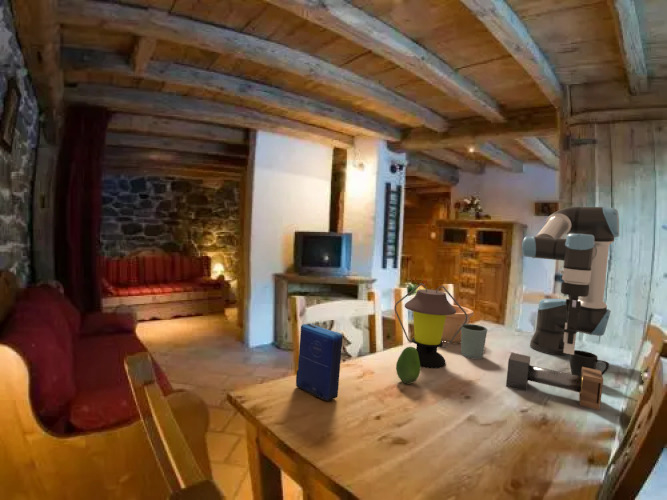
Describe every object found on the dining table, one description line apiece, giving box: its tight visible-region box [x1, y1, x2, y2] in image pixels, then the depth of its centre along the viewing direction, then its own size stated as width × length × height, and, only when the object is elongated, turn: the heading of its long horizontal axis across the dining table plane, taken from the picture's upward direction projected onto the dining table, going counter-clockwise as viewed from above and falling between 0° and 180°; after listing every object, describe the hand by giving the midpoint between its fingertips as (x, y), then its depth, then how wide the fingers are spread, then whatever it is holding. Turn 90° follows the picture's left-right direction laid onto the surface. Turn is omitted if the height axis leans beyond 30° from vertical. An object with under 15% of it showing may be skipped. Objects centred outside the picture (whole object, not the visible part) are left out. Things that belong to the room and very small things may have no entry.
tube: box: [527, 365, 583, 394], centre depth 125 cm, size 20×5×5 cm, turn 59°
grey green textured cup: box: [460, 323, 488, 360], centre depth 158 cm, size 10×10×12 cm
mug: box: [569, 349, 610, 376], centre depth 137 cm, size 8×12×10 cm
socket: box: [578, 367, 604, 411], centre depth 120 cm, size 9×5×10 cm, turn 149°
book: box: [295, 323, 343, 402], centre depth 113 cm, size 14×5×20 cm, turn 49°
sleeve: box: [505, 352, 531, 392], centre depth 130 cm, size 8×6×9 cm
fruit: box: [395, 346, 421, 384], centre depth 126 cm, size 8×8×12 cm
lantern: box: [393, 282, 467, 369], centre depth 147 cm, size 25×19×30 cm
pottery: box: [441, 304, 474, 344], centre depth 181 cm, size 22×22×14 cm
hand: (568, 347), depth 123 cm, fingers open, 13 cm apart
